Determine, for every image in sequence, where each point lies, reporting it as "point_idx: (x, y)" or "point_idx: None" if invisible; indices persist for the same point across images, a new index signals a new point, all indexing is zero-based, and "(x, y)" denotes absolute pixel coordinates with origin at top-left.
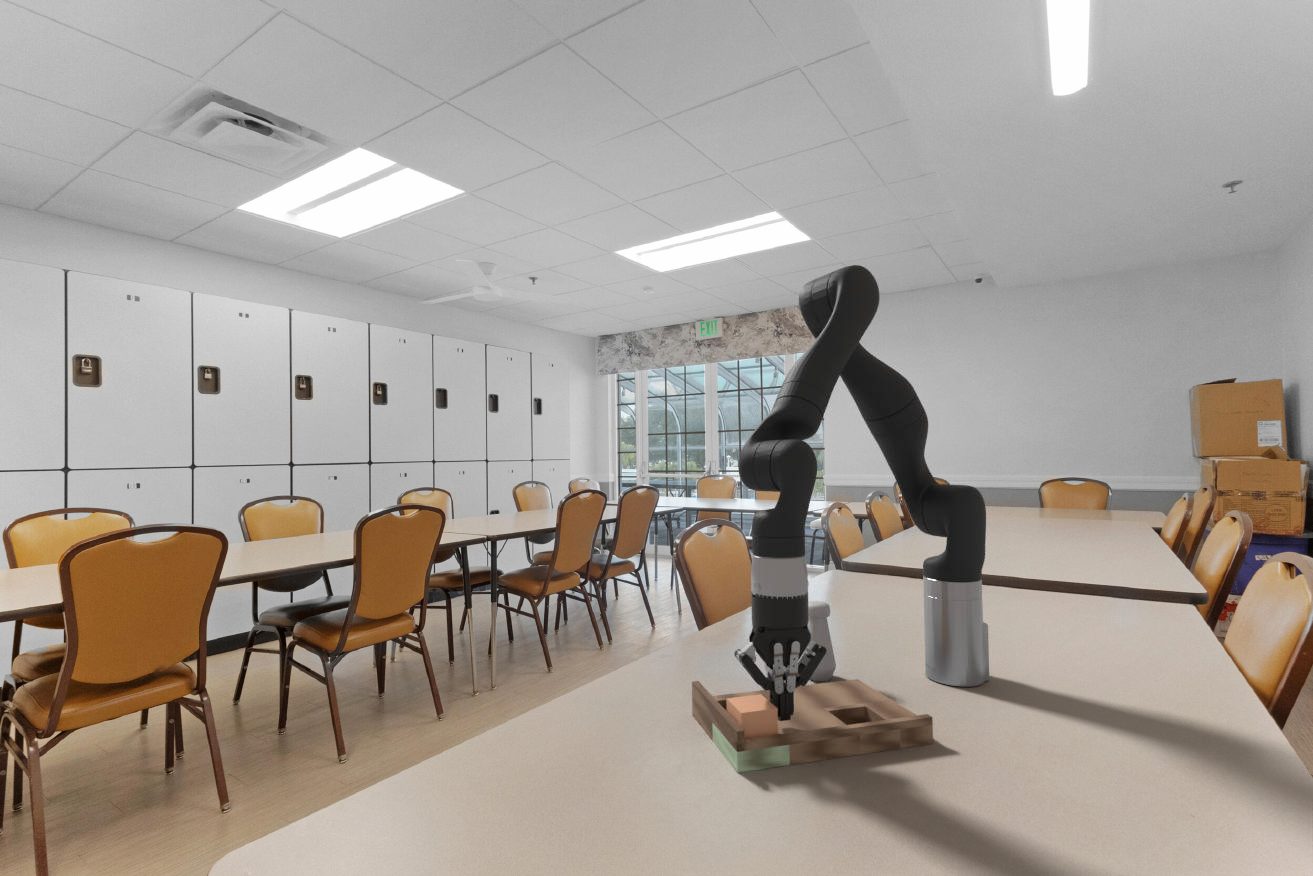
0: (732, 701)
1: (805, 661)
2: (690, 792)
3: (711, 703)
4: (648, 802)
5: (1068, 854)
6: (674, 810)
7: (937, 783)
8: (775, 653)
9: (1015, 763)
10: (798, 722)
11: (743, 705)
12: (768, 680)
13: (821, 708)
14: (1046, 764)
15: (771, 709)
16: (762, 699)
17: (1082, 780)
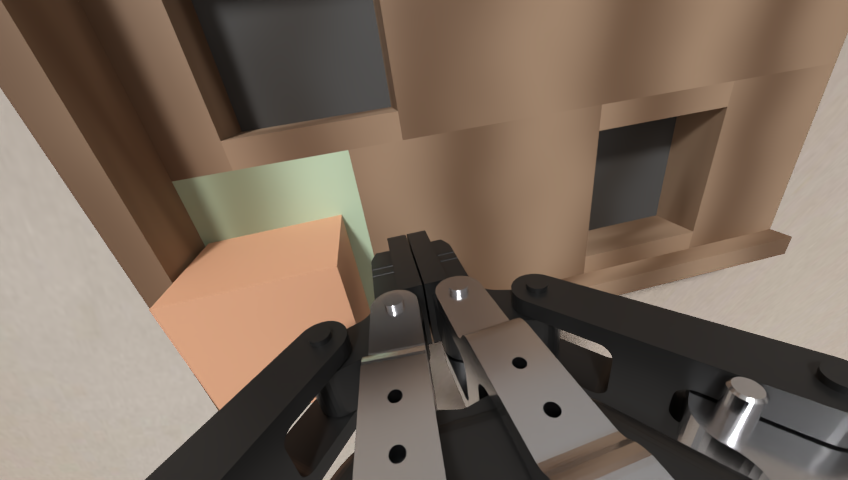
0: (186, 337)
1: (632, 390)
2: (147, 400)
3: (79, 203)
4: (52, 434)
5: None
6: (124, 447)
7: (608, 352)
8: None
9: (762, 298)
10: (467, 211)
11: (241, 371)
12: (355, 429)
13: (591, 104)
14: (794, 301)
15: None
16: (334, 318)
17: (782, 339)
